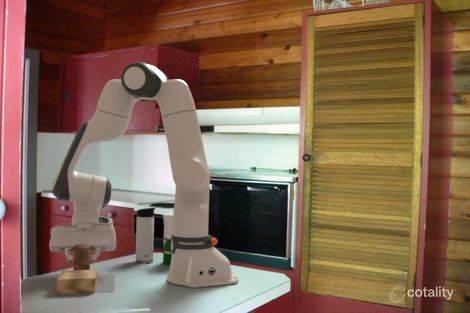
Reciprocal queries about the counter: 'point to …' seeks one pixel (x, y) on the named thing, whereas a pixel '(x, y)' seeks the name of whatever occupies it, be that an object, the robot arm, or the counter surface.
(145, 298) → the counter surface
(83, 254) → the walnut column
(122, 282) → the counter surface
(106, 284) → the grey mat
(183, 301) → the counter surface
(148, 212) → the travel mug
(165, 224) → the milk carton
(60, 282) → the oak base block
